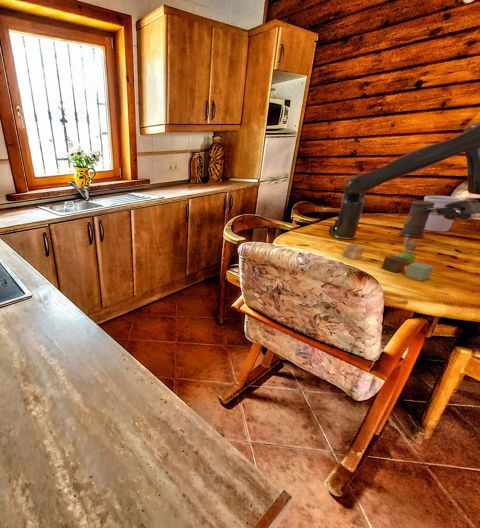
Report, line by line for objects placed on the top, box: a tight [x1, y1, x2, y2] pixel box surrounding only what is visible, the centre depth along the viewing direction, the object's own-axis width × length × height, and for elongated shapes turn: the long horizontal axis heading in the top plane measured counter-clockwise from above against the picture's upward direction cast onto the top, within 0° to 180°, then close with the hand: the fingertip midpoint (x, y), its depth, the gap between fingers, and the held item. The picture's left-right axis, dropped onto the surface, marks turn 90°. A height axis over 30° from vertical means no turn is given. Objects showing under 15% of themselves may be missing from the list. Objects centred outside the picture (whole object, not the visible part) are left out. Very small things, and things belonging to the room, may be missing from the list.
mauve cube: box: [342, 243, 365, 260], centre depth 127 cm, size 5×5×5 cm
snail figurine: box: [397, 234, 418, 265], centre depth 117 cm, size 5×6×12 cm
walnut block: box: [381, 254, 408, 274], centre depth 113 cm, size 5×5×5 cm
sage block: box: [404, 261, 434, 282], centre depth 106 cm, size 5×5×5 cm
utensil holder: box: [423, 195, 465, 233], centre depth 155 cm, size 15×15×18 cm
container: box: [399, 200, 435, 239], centre depth 147 cm, size 9×9×18 cm
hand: (436, 214), depth 115 cm, fingers open, 8 cm apart
